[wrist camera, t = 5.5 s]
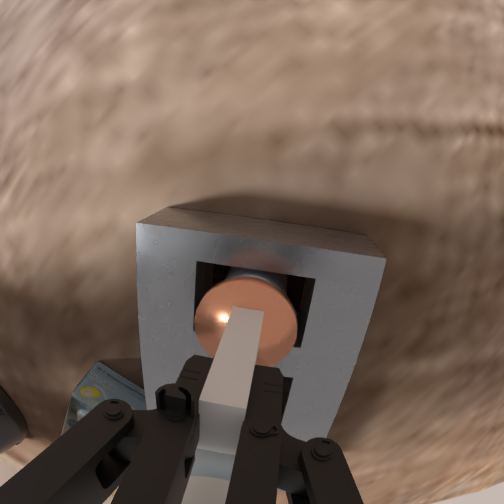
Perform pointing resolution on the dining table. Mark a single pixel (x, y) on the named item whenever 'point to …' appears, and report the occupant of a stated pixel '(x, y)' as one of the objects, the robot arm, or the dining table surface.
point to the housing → (264, 259)
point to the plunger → (252, 297)
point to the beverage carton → (101, 393)
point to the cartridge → (209, 478)
